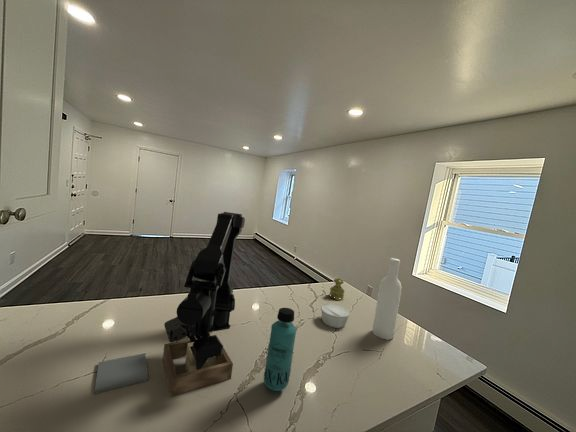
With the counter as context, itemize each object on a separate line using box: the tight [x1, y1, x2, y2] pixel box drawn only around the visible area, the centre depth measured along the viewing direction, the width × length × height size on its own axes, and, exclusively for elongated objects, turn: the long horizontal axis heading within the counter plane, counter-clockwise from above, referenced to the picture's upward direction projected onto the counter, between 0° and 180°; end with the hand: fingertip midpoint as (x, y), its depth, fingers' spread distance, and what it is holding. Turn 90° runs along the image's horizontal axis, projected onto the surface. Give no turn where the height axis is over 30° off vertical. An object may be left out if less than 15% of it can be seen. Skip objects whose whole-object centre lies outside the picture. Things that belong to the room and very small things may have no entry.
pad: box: [94, 352, 149, 394], centre depth 60 cm, size 10×10×1 cm
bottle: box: [372, 257, 403, 341], centre depth 97 cm, size 8×8×30 cm
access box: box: [162, 334, 234, 397], centre depth 65 cm, size 14×14×4 cm
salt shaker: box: [329, 278, 346, 301], centre depth 130 cm, size 7×7×10 cm
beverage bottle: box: [263, 307, 297, 392], centre depth 62 cm, size 6×7×20 cm
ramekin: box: [321, 303, 350, 329], centre depth 102 cm, size 11×11×5 cm
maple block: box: [184, 342, 209, 373], centre depth 65 cm, size 4×4×6 cm
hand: (196, 363), depth 65 cm, fingers closed on maple block, 4 cm apart
